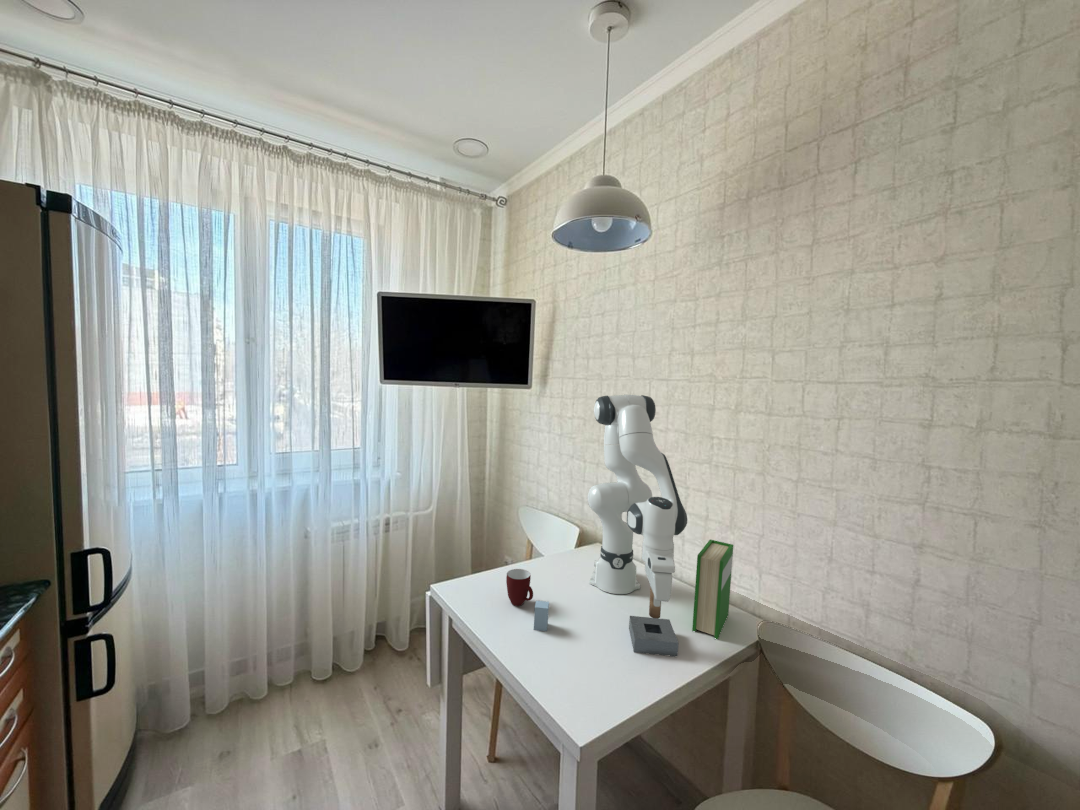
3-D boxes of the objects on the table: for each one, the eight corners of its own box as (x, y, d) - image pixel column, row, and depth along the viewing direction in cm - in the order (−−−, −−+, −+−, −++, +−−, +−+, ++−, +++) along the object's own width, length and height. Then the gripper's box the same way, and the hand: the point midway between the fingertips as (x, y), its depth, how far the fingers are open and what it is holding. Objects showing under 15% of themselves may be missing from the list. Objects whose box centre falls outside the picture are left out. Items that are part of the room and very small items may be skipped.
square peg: (534, 622, 133) (536, 600, 133) (547, 623, 132) (549, 601, 132) (533, 629, 129) (534, 607, 129) (546, 631, 129) (548, 608, 128)
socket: (628, 628, 132) (629, 615, 132) (668, 632, 131) (669, 619, 131) (633, 652, 120) (634, 638, 120) (677, 656, 119) (678, 642, 119)
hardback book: (717, 640, 128) (723, 561, 127) (692, 631, 133) (697, 555, 131) (728, 615, 143) (733, 544, 142) (705, 607, 147) (710, 539, 146)
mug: (540, 604, 144) (541, 575, 143) (526, 614, 137) (527, 584, 137) (514, 594, 150) (516, 566, 149) (500, 603, 143) (501, 574, 142)
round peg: (648, 612, 127) (649, 582, 126) (659, 613, 126) (660, 583, 126) (650, 617, 124) (651, 587, 123) (661, 618, 123) (662, 588, 123)
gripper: (641, 541, 135) (639, 584, 135) (652, 567, 115) (649, 618, 115) (661, 543, 134) (659, 586, 135) (676, 569, 114) (673, 620, 115)
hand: (655, 601), depth 125 cm, fingers closed on round peg, 3 cm apart
